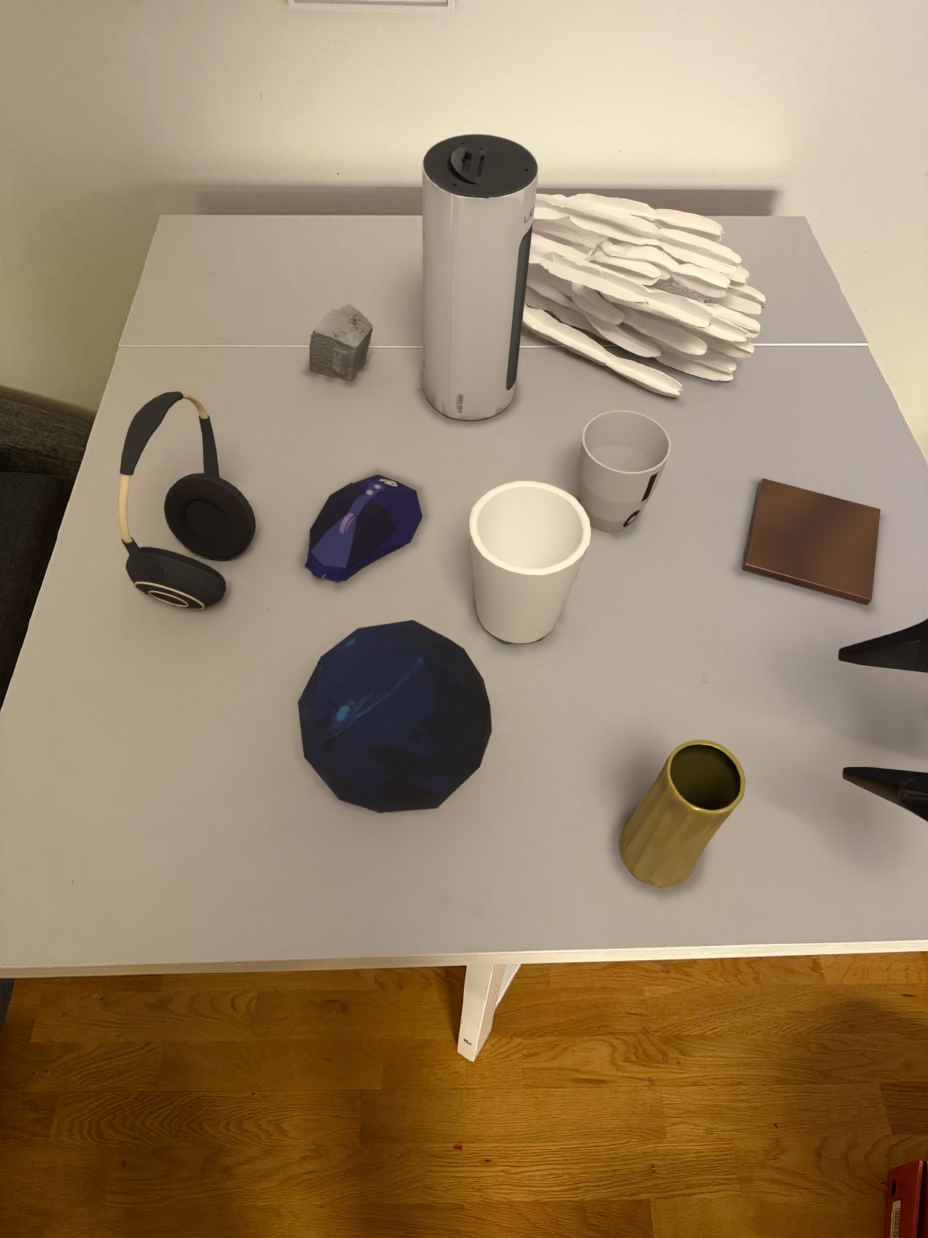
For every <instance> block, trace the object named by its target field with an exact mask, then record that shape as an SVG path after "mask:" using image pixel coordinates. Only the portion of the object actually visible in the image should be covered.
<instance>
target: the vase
mask: <svg viewBox="0 0 928 1238" xmlns="http://www.w3.org/2000/svg"><path fill="white" fill-rule="evenodd" d="M746 783H747V779H746V775H745V771H744V768H743V767H742V764H741V763H740V761H739V759H738V758H737V757H736V756H735V755H734V754H733V753H732V751H730V750H729V749H727V747H725V746H723V745H721V744H720V743H718V742H715V741H712V740H707V739H706V740H705V739H695V740H689V741H686V742H683V743H681V744H679V745H678V746H677V747H675V748H674V750H672V751H671V753H670V754H669V755H668V757H667V758H666V760H665V762H664V764H663V766H662V767H661V770H660V771H659V773H658V774H657V776H656V778H655V780H654V781H653V783H652V785H650V788H649V789H648V791H647V792H646V794H645V796H644V797H643V799H642V800H641V802H640V803H639V805H638V807H637V808H636V810H635V811H634V812H633V814H632V816H631V817H630V818H629V819H628V821H627V822H626V823H625V825H624V826H623V828H622V830H621V833H620V837H619V851H620V855H621V858H622V860H623V862H624V864H625V866H626V867H627V868H628V870H629V871H630V872H631V874H633V875H634V876H635V877H636V878H637V879H639V880H640V881H642V882H644V883H645V884H647V885H650V886H654V887H661V888H668V887H673V886H676V885H679V884H681V883H684V882H685V881H686V880H687V879H688V878H689V877H691V875H692V874H693V872H695V869H696V867H697V864H698V862H699V860H700V858H701V857H702V855H703V853H704V851H705V849H706V848H707V846H708V844H709V843H710V841H711V840H712V839H713V837H714V836H715V834H716V833H717V832H718V830H719V829H720V828H721V826H722V825H723V824H724V823H725V822H726V821H727V819H728V817H729V816H730V815H731V814H732V813H733V811H734V810H735V809H736V807H737V806H738V805H740V803H741V801H743V799H744V796H745V791H746Z"/></svg>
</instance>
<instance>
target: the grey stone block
mask: <svg viewBox="0 0 928 1238" xmlns="http://www.w3.org/2000/svg"><path fill="white" fill-rule="evenodd" d="M373 330H374V326H373V323H371V321H370V320H369V318H368V317H367V316H365V315H364V314H363V312H362V311H360V310H359V309H357V308H356V307H355V306H353V305H352V304H351V303H348V304H346V305H345V304H344V305H343V306H342V307H341V308H337V309H334V308H332V309H330V310H329V312H327V313H326V314H325V315H324V317H322V319H321V320H320V322H319V323H318V324H316V326H315V327H314V330H313V331H312V333H311V334H310V340H309V346H308V347H309V352H308V355H309V356H308V357H309V361H308V363H309V367H308V369H309V371H310V372H311V373H312V372H313V373H318V374H322V375H325V376H328V377H334V378H337V379H341V380H345V381H348V382H352V381H353V380H354V378H355V377H356V375H357V374H358V373H359V371H360V370H361V369H362V368H363V367H364V366H365V365H366V362H367V356H368V352H369V349H370V344H371V339H372V335H373V334H372V333H373V332H374V331H373Z"/></svg>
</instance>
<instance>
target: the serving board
mask: <svg viewBox="0 0 928 1238" xmlns="http://www.w3.org/2000/svg"><path fill="white" fill-rule="evenodd" d="M757 490H758V491H757V495H756V501H755V506H754V509H753V514H752V520H751V524H750V530H749V534H748V538H747V539H748V540H747V544H746V549H745V554H744V559H743V563H742V564H743V565H742V567H741V568H742V570H741V571H745V572H747V573H751V574H755V575H758V576H762V577H765V578H769V579H772V580H776V581H780V582H783V583H787V584H790V585H793V586H797V587H801V588H803V589H807V590H810V591H811V590H812V591H814V592H818V593H822V594H825V595H829V596H832V597H835V598H839V599H842V600H847V601H850V602H854V603H857V604H861V605H864V606H869V605H870V603H871V602H872V600H873V592H874V581H875V572H876V562H877V561H876V559H877V552H878V551H877V550H878V539H879V529H880V520H881V519H880V518H881V508H877V507H874V506H870V505H866V504H862V503H858V502H855V501H852V500H847V499H843V498H841V497H836V496H832V495H829V494H824V493H821V492H817V491H813V490H809V489H806V488H803V487H798V486H794V485H791V484H788V483H783V482H779V481H776V480H772V479H768V478H764V477H763V478H762V479H761V480H760V482H759V486H758V489H757Z"/></svg>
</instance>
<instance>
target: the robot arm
mask: <svg viewBox="0 0 928 1238" xmlns="http://www.w3.org/2000/svg"><path fill="white" fill-rule="evenodd" d="M837 660H839V662H843V663H847V664H853V665H856V666H863V667H872V668H880V669H890V670H898V671H905V672H906V671H907V672H914V673H915V672H916V673H924V674H928V617H927V618H926V619H924V620H922V621H921V622H918V623H916V624H914V625H913V624H912V625H911V626H908V627H906V628H904V629H901V630H897V631H894V632H891V633H887V634H884V635H883V634H882V635H879V636H877V637H874V638H870V639H867V640H863V641H860V642H857V643H853V644H850V645H846V646H843V647H840V648H839V649H838V653H837ZM841 776H842V780H844V781H847V782H848V783H850V784H853V785H854V786H857V787H858V788H861V789H863V790H865V791H867V792H869V793H871V794H873V795H876V796H877V797H879V798H882V799H884V800H886V801H888V802H890V803H892V804H894V805H896V806H898V807H901V808H903V809H904V810H905V811H908V812H910V813H911V814H913V815H915V816H917V817H919V818H920V819H922V820H924V821H925V822H927V823H928V772H926V771H917V770H906V769H896V768H888V767H876V766H844V767H843V768H842V773H841Z"/></svg>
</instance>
